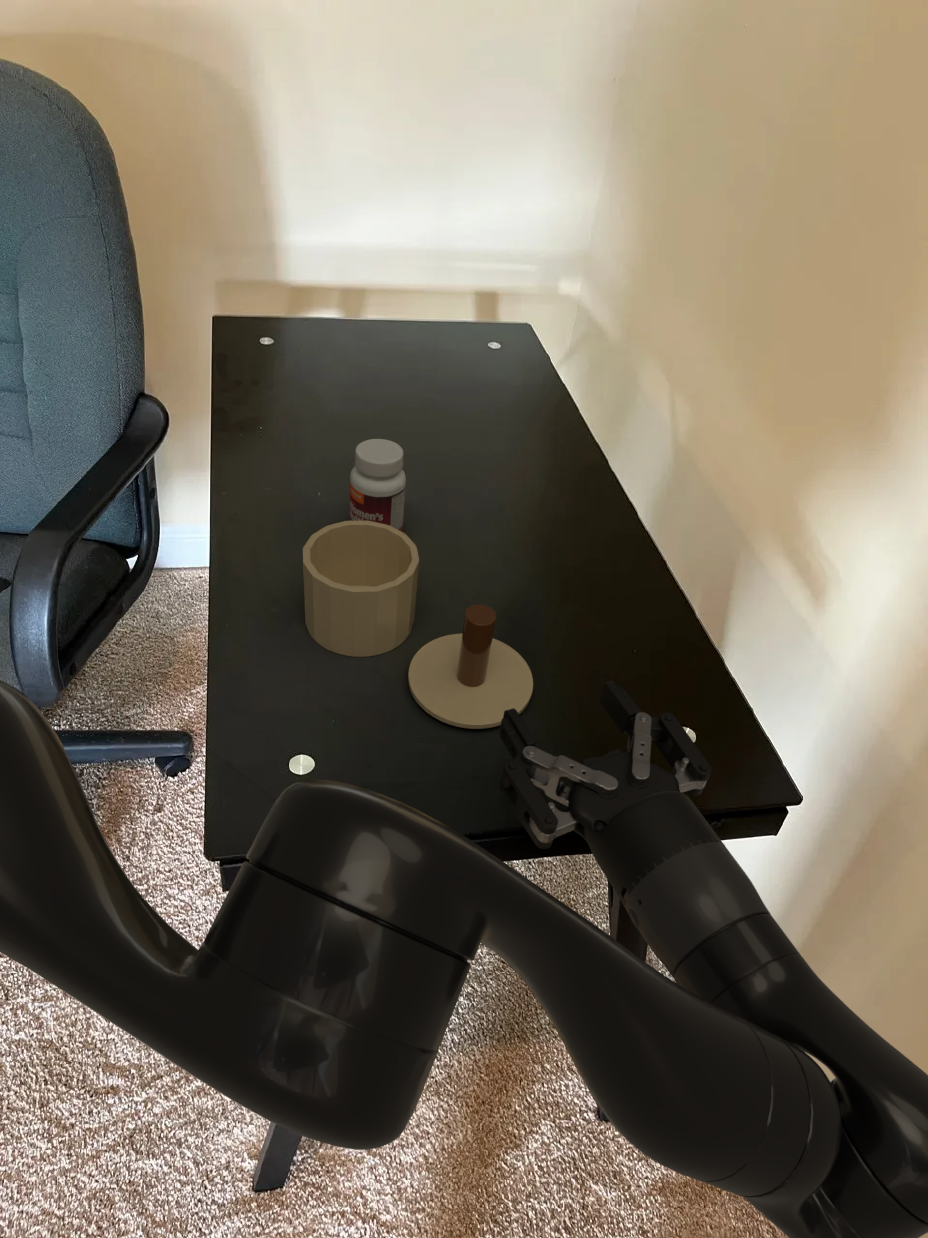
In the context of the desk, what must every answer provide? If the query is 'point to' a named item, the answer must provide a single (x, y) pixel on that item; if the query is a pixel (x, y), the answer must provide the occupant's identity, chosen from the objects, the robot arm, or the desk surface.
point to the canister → (360, 587)
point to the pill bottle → (378, 483)
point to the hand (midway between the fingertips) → (556, 702)
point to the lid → (470, 675)
